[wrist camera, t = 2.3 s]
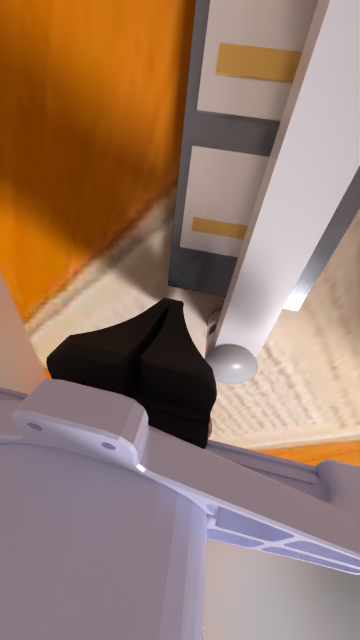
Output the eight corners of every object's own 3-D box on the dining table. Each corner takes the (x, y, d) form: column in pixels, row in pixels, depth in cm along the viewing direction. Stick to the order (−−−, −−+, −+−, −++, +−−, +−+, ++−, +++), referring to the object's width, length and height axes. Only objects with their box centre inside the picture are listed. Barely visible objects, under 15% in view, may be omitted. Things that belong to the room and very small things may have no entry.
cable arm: (245, 365, 12) (248, 389, 11) (200, 355, 13) (198, 377, 11) (579, -292, 3) (923, -756, 2) (382, -290, 3) (518, -692, 2)
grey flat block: (498, -56, 5) (628, -170, 3) (268, 348, 14) (274, 369, 12) (207, -75, 6) (202, -183, 4) (165, 326, 15) (158, 343, 13)
